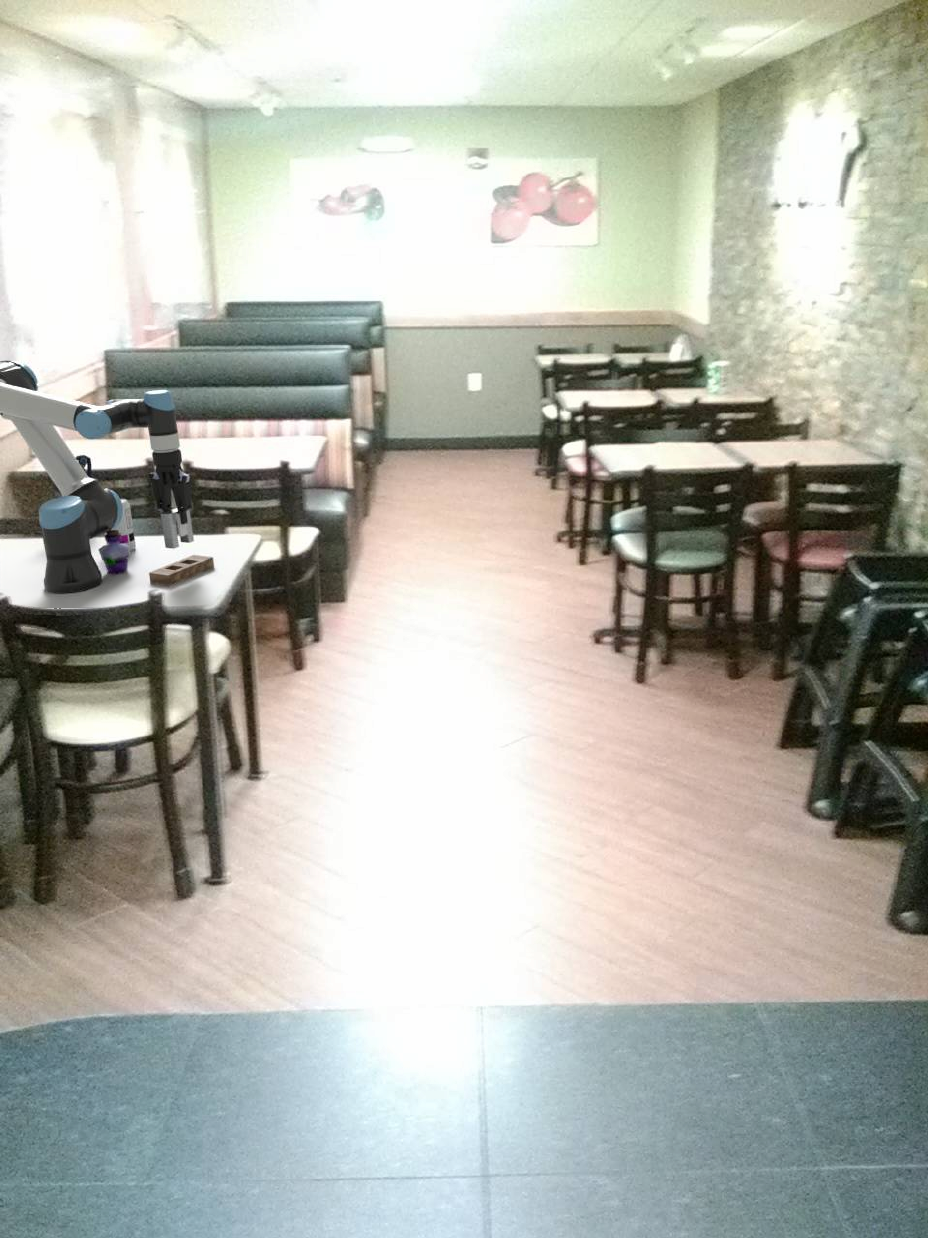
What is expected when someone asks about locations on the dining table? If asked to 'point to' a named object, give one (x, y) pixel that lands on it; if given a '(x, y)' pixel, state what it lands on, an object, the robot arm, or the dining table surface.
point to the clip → (171, 531)
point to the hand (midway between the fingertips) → (178, 534)
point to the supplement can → (126, 527)
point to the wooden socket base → (181, 570)
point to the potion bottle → (114, 553)
